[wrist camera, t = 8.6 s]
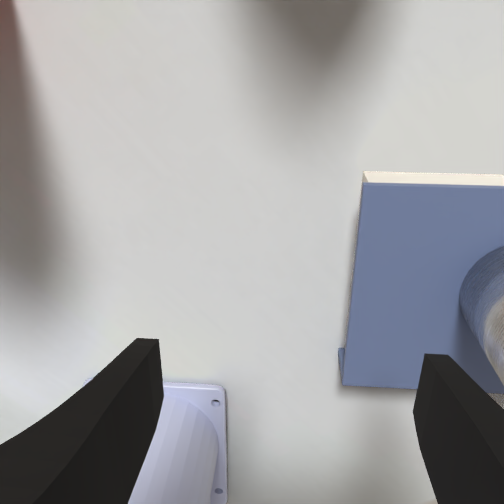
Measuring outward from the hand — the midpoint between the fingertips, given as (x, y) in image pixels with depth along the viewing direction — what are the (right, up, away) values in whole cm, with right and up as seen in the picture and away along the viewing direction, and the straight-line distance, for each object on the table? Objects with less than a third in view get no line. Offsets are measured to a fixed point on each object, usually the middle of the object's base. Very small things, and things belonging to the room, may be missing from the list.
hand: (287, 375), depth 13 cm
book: (+11, +3, +10) cm, 15 cm away
